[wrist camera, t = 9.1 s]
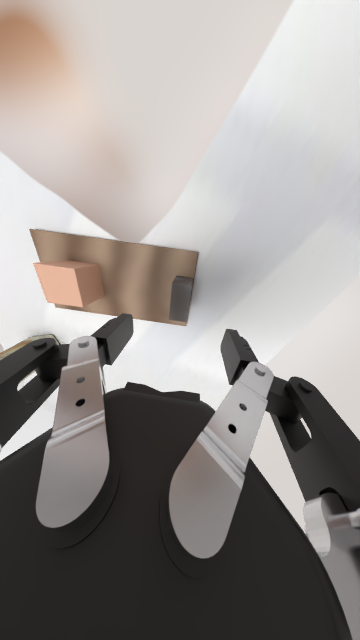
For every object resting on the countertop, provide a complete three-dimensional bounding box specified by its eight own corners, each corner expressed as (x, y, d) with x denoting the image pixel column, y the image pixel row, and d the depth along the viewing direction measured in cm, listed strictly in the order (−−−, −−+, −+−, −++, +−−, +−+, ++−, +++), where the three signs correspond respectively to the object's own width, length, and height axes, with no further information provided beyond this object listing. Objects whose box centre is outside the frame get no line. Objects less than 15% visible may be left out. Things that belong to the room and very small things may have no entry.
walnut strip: (198, 252, 19) (200, 252, 14) (186, 323, 25) (184, 343, 20) (35, 229, 20) (-21, 222, 15) (59, 305, 25) (25, 319, 20)
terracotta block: (99, 264, 20) (74, 268, 16) (104, 296, 23) (83, 307, 18) (67, 260, 21) (33, 263, 16) (75, 292, 23) (47, 302, 18)
